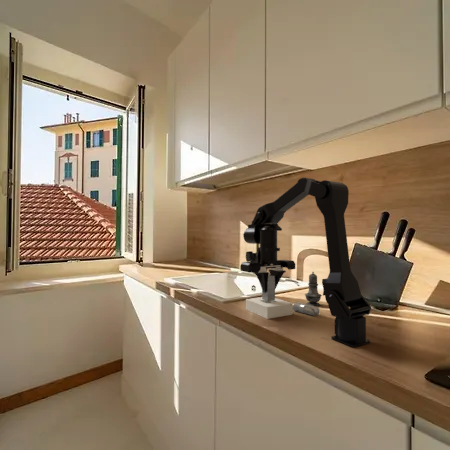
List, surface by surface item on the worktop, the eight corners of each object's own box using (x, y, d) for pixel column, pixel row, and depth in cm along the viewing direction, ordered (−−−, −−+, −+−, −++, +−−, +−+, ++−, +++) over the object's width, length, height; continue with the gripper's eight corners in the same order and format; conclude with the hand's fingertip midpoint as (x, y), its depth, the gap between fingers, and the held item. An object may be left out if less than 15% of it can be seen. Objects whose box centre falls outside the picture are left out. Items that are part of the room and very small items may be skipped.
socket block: (292, 314, 94) (292, 303, 94) (267, 318, 89) (267, 307, 89) (269, 305, 104) (269, 296, 105) (245, 309, 100) (245, 299, 100)
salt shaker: (316, 307, 102) (316, 273, 102) (301, 304, 106) (301, 271, 107) (324, 304, 106) (324, 271, 107) (309, 301, 111) (309, 269, 111)
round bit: (317, 318, 93) (320, 309, 94) (312, 314, 91) (315, 305, 92) (296, 312, 99) (299, 304, 100) (291, 308, 97) (295, 300, 99)
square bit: (275, 300, 96) (274, 275, 96) (267, 301, 95) (267, 276, 95) (269, 298, 99) (269, 274, 99) (262, 299, 97) (262, 275, 98)
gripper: (275, 243, 109) (275, 285, 108) (231, 244, 100) (231, 290, 99) (296, 244, 99) (296, 291, 99) (250, 245, 90) (250, 296, 90)
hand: (268, 292), depth 97 cm, fingers closed on square bit, 3 cm apart
